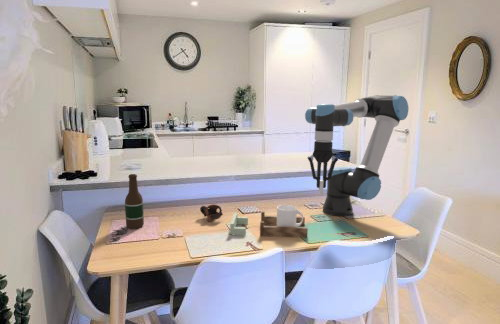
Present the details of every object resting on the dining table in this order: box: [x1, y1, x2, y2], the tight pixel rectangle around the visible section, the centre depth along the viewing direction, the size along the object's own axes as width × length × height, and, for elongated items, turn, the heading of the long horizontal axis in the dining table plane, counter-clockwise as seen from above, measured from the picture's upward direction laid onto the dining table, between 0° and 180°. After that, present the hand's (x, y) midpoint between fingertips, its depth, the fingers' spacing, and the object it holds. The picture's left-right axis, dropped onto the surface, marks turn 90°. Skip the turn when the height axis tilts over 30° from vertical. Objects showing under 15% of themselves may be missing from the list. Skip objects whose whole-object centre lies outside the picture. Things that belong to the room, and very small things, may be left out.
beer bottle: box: [124, 173, 145, 230], centre depth 160 cm, size 8×8×24 cm
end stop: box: [229, 212, 249, 236], centre depth 160 cm, size 6×15×5 cm, turn 176°
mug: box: [276, 204, 304, 227], centre depth 158 cm, size 9×12×11 cm
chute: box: [259, 210, 309, 238], centre depth 159 cm, size 20×15×6 cm
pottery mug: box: [199, 204, 224, 223], centre depth 172 cm, size 12×10×8 cm
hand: (320, 194), depth 155 cm, fingers closed
